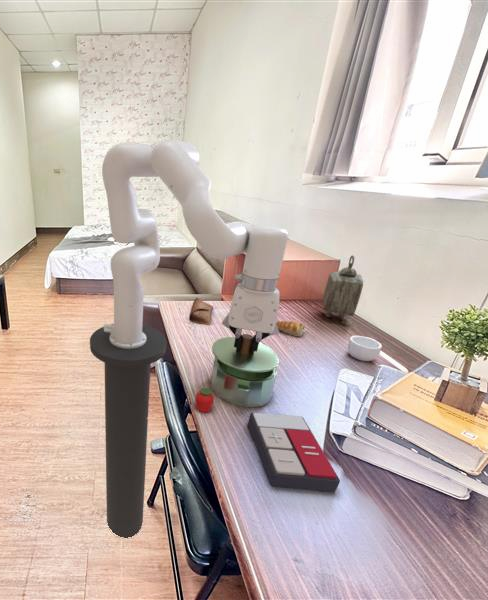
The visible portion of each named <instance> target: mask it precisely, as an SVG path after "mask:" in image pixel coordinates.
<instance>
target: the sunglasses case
mask: <svg viewBox="0 0 488 600" xmlns="http://www.w3.org/2000/svg"><path fill="white" fill-rule="evenodd" d="M213 309H214V306H213V305H211V304H209V303H207V302H205V301H203V300H201V299H200V298H199V297H195V299H194V300H193V302H192V305H191V309H190V313H189V316H188V317H189V318H188V319H189V321H190V322H191V323H195V324H203V325H211V323H212V318H211V317H212V311H213Z"/></svg>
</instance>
